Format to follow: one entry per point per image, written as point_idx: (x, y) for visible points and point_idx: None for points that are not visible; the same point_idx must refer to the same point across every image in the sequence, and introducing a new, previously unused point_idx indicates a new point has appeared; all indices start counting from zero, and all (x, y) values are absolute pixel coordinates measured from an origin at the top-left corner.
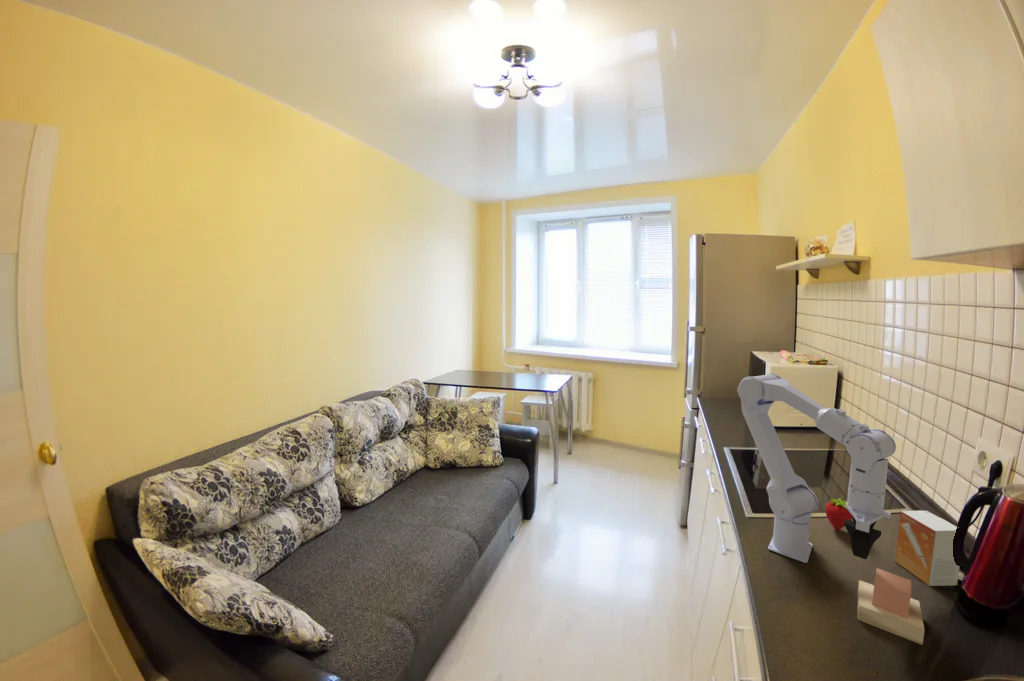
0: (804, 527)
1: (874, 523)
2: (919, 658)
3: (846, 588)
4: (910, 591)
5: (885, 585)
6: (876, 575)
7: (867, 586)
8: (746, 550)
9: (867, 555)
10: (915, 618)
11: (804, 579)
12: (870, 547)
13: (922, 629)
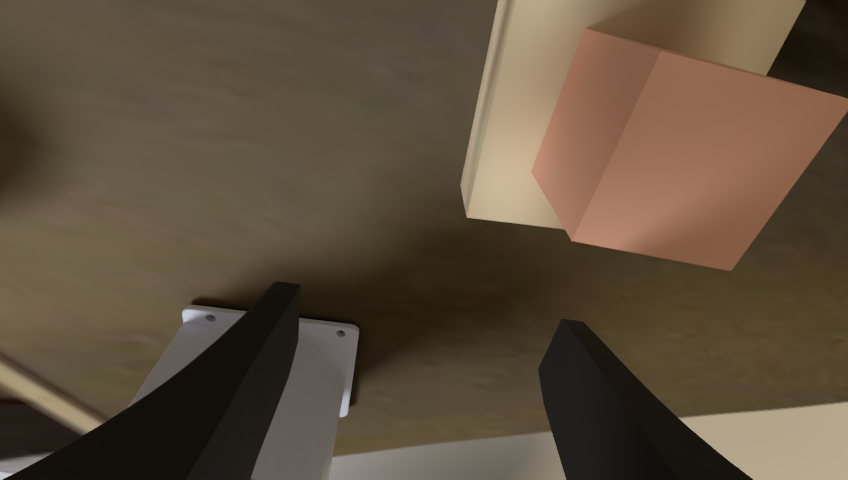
0: (295, 472)
1: (222, 429)
2: (830, 34)
3: (449, 219)
4: (822, 95)
5: (759, 223)
6: (671, 255)
7: (509, 192)
8: (393, 448)
9: (606, 346)
10: (713, 22)
11: (469, 331)
12: (671, 414)
13: (800, 9)
